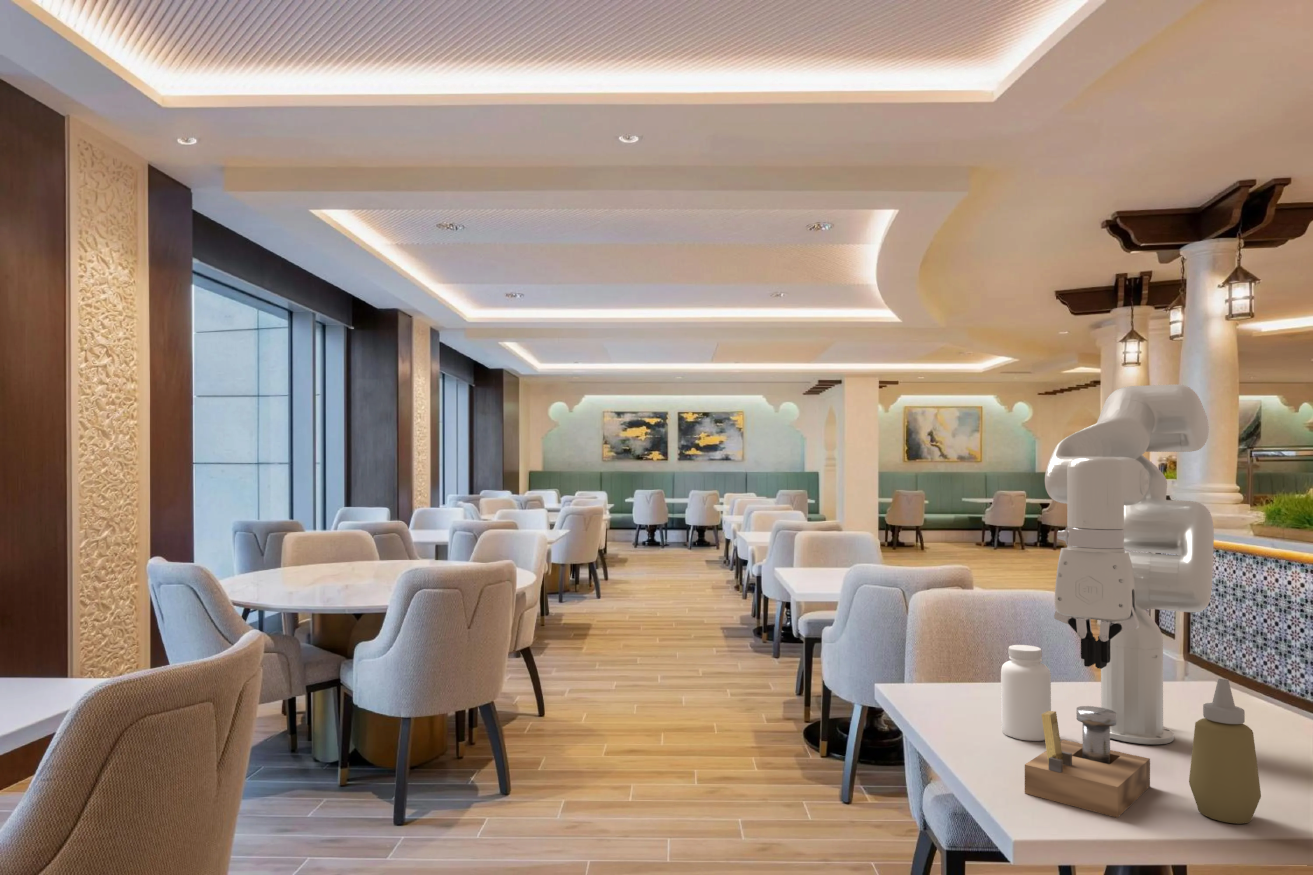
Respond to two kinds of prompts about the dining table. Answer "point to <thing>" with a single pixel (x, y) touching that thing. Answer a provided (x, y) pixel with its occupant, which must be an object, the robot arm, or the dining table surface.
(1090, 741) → the steel pin
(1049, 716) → the bar
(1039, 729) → the pill bottle
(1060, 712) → the dining table surface
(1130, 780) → the block
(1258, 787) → the squeeze bottle
